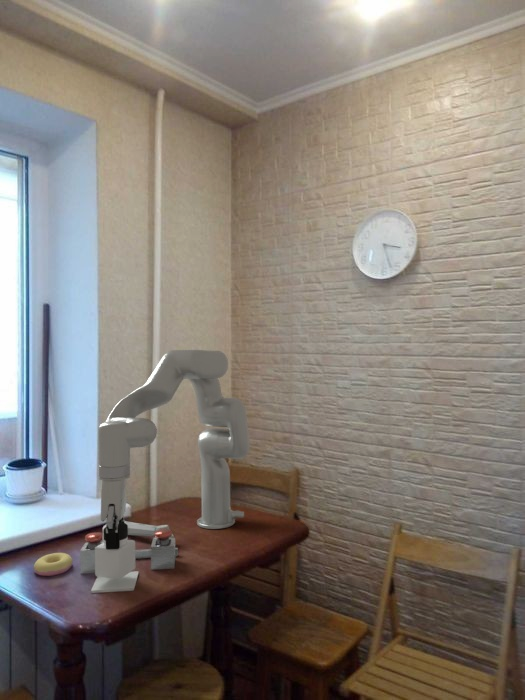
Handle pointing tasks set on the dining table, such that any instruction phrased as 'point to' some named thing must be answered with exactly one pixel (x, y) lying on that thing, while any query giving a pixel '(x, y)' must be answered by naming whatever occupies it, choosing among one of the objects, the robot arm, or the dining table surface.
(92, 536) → the plunger
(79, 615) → the dining table surface
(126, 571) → the medicine bottle
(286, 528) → the dining table surface
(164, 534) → the plunger
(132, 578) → the mat
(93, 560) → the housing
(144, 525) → the grey piece
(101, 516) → the robot arm
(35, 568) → the donut
